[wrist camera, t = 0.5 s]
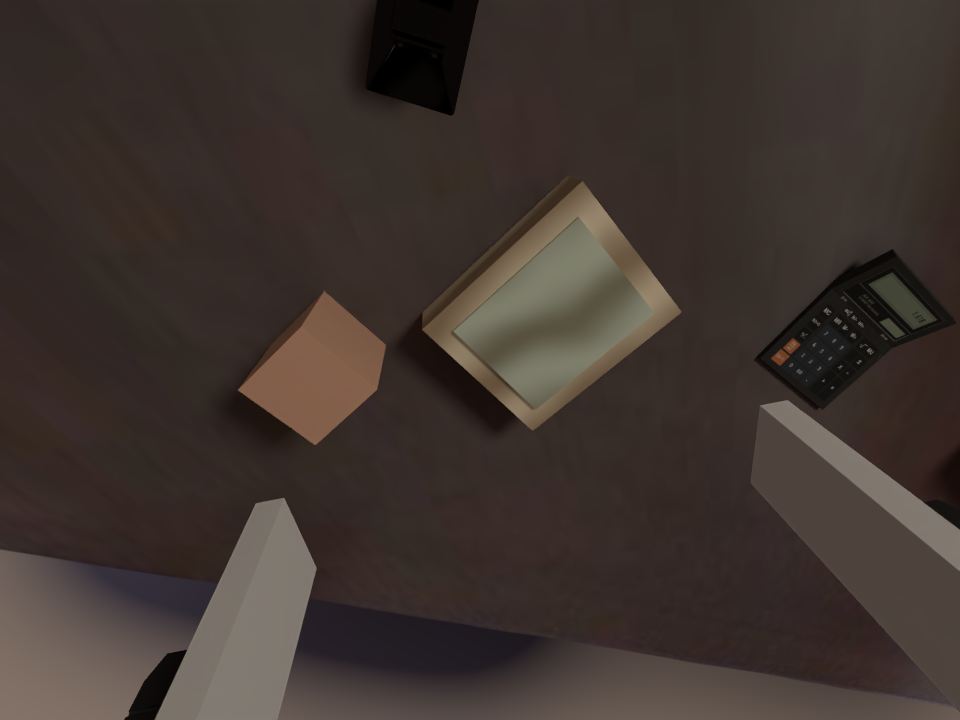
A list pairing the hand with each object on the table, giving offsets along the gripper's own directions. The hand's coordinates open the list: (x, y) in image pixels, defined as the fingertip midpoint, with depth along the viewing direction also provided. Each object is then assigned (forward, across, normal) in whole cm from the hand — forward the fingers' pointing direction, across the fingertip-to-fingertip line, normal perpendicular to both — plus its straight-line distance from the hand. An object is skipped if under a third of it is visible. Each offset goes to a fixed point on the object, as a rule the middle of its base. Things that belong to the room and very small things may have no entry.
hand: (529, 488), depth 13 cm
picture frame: (+24, +5, -4) cm, 25 cm away
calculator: (+24, +30, -11) cm, 41 cm away
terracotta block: (+24, -11, -4) cm, 27 cm away
